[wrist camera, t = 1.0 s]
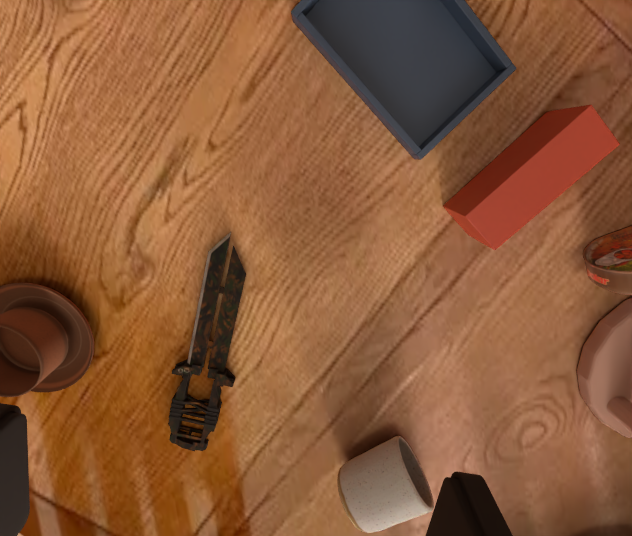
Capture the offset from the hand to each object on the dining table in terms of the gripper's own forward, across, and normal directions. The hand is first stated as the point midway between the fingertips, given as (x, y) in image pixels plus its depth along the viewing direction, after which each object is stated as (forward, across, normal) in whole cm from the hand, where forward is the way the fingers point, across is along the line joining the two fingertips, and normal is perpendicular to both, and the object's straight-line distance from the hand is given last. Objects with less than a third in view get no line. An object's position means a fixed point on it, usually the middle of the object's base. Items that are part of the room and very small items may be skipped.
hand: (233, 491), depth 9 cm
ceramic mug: (+32, -14, +26) cm, 43 cm away
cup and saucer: (+31, +25, +15) cm, 42 cm away
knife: (+31, +8, +14) cm, 35 cm away
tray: (+31, -6, -17) cm, 36 cm away
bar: (+31, -18, -8) cm, 37 cm away
